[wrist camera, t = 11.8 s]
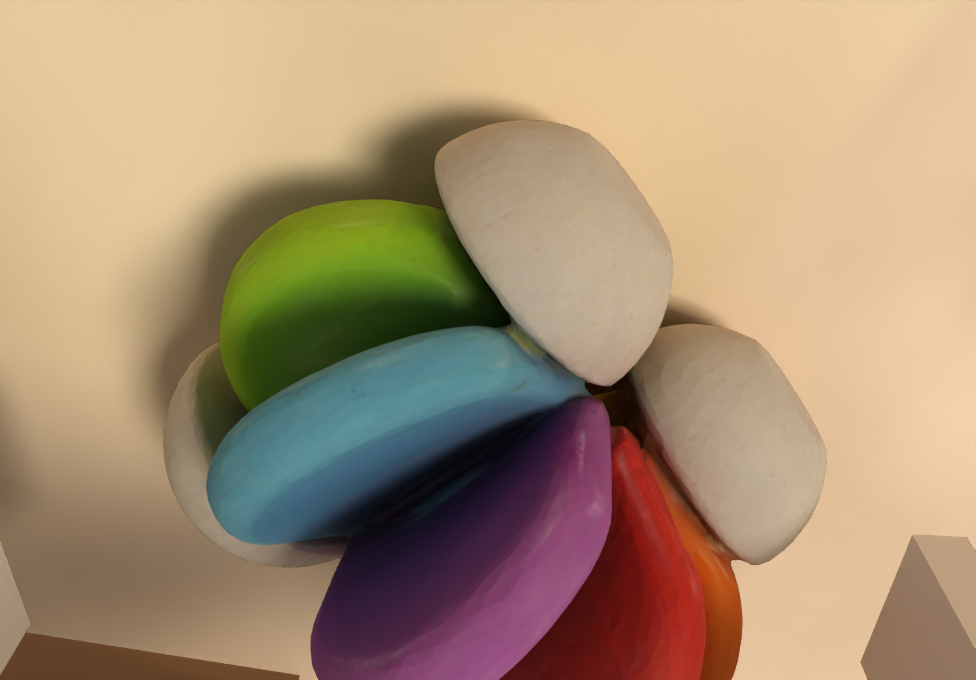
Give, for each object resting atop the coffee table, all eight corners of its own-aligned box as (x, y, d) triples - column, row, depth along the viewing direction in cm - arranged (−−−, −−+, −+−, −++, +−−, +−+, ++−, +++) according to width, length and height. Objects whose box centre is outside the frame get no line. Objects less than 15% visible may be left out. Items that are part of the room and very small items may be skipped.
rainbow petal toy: (484, 608, 19) (468, 997, 13) (133, 314, 15) (-131, 672, 9) (836, 421, 16) (1034, 818, 10) (509, -8, 12) (498, 202, 6)
